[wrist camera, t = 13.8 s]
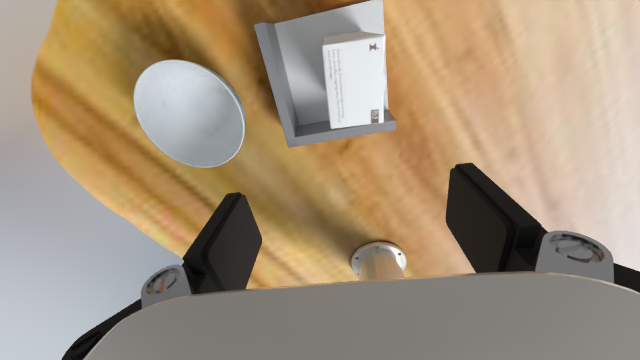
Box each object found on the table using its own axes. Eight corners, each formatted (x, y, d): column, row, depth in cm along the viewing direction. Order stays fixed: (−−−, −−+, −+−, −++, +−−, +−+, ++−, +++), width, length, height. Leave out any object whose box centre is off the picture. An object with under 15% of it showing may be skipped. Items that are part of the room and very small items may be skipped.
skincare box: (322, 36, 34) (316, 38, 21) (366, 30, 33) (387, 28, 20) (329, 98, 38) (327, 130, 25) (367, 93, 37) (386, 124, 25)
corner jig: (387, 117, 40) (396, 129, 35) (293, 133, 42) (288, 147, 37) (381, -2, 32) (391, -9, 27) (265, 26, 34) (253, 24, 29)
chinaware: (272, 134, 42) (261, 153, 36) (199, 156, 45) (176, 177, 39) (231, 40, 35) (208, 41, 28) (147, 73, 38) (108, 81, 31)
